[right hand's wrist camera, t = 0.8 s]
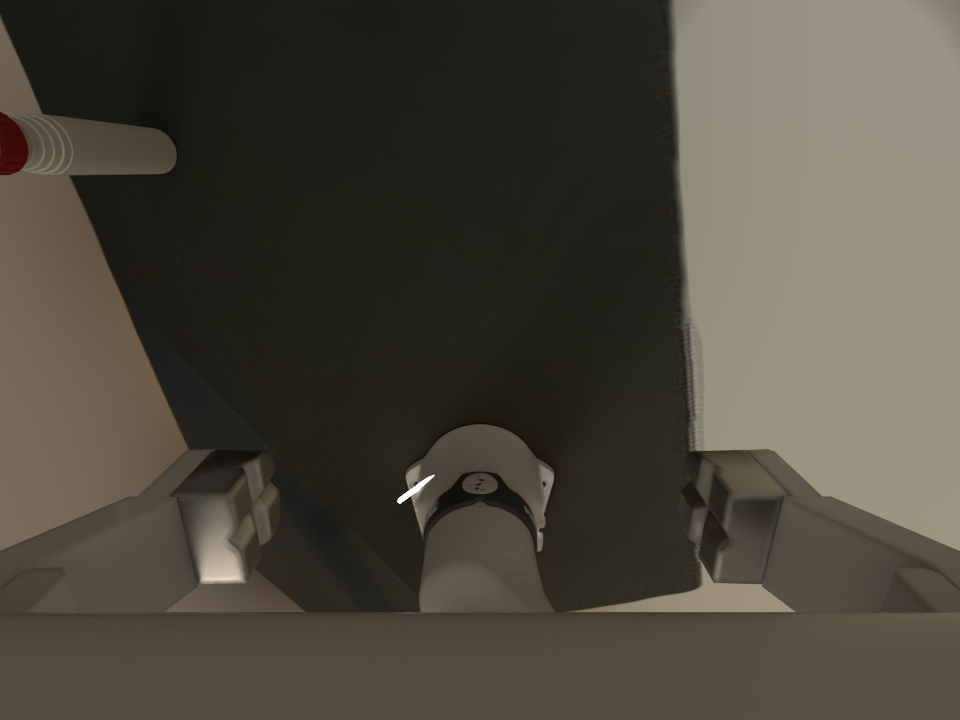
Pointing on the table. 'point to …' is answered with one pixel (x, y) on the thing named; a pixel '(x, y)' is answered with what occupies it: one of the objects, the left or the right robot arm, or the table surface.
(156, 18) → the table surface
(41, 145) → the bottle
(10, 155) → the cap
